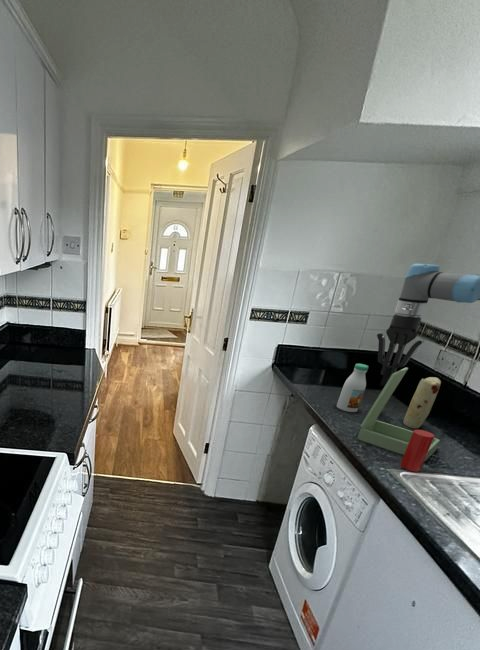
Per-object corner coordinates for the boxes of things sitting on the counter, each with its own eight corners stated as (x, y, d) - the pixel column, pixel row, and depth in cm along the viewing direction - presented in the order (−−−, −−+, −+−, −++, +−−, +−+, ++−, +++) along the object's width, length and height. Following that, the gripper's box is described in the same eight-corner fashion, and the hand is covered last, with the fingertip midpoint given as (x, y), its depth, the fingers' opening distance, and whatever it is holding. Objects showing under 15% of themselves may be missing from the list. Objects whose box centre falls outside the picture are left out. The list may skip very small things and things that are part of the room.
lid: (408, 368, 141) (405, 367, 141) (395, 374, 132) (392, 373, 133) (376, 418, 152) (374, 417, 152) (362, 427, 143) (359, 426, 144)
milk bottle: (336, 412, 170) (352, 366, 162) (334, 405, 177) (349, 360, 168) (357, 416, 168) (375, 369, 159) (354, 409, 174) (371, 364, 166)
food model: (421, 433, 155) (444, 383, 147) (400, 427, 159) (421, 378, 150) (422, 424, 163) (444, 377, 154) (402, 419, 166) (422, 372, 157)
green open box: (434, 452, 140) (440, 439, 138) (423, 464, 132) (428, 450, 130) (370, 431, 154) (374, 419, 152) (356, 440, 146) (360, 428, 144)
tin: (422, 468, 130) (436, 434, 125) (417, 473, 126) (432, 438, 122) (402, 461, 133) (416, 428, 128) (397, 466, 130) (411, 432, 125)
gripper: (381, 312, 134) (359, 381, 144) (428, 319, 125) (402, 392, 135) (388, 311, 139) (366, 378, 148) (435, 317, 130) (409, 388, 139)
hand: (383, 384), depth 141 cm, fingers closed
